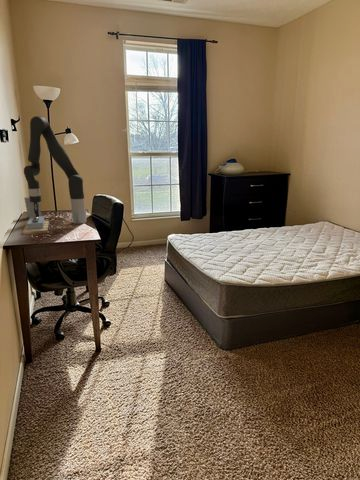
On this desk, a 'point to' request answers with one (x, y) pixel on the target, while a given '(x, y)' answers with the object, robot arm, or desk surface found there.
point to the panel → (36, 225)
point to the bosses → (35, 219)
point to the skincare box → (31, 208)
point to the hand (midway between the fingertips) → (38, 219)
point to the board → (35, 231)
